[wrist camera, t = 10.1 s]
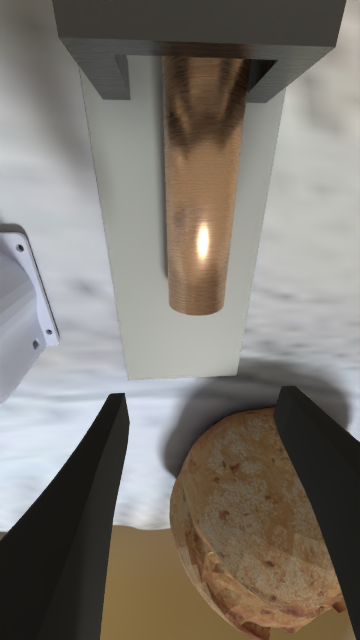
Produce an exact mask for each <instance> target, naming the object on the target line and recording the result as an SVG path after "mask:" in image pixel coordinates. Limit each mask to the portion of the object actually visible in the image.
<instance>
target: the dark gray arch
mask: <svg viewBox="0 0 360 640" xmlns="http://www.w3.org/2000/svg"><path fill="white" fill-rule="evenodd" d="M52 2H53V7H54V13H55V19H56V24H57V30H58V35H59V38H60V40H61V41H62V42H63V44H64V45H65V47H66V48H67V49H68V51H69V52H70V54H71V55H72V57H73V58H74V59H75V61H76V62H77V64H78V65H79V67H80V68H81V69H82V71H83V72H84V74H85V75H86V76H87V78H88V79H89V81H90V82H91V84H92V85H93V86H94V88H95V89H96V91H97V92H98V93H99V95H100V96H101V98H102V99H103V100H131V94H130V82H129V69H128V60H127V56H126V55H140V56H171V57H203V58H234V59H251V65H250V74H249V83H248V93H247V102H246V103H267V102H268V101H269V100H271V99H272V98H273V97H274V96H276V95H277V94H278V93H279V92H280V91H282V90H283V89H284V88H285V87H287V86H288V85H289V84H290V83H292V82H293V81H294V80H295V79H297V78H298V77H299V76H300V75H301V74H303V73H304V72H305V71H306V70H308V69H309V68H310V67H311V66H313V65H314V64H315V63H316V62H318V61H319V60H320V59H321V58H322V57H324V56H325V55H326V54H327V53H329V52H330V51H331V50H332V49H334V48H335V46H336V42H337V38H338V34H339V30H340V25H341V21H342V17H343V13H344V8H345V4H346V0H52Z"/></svg>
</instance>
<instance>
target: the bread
mask: <svg viewBox="0 0 360 640" xmlns="http://www.w3.org/2000/svg"><path fill="white" fill-rule="evenodd" d="M274 410H275V407H270V408H264V409H255V410H248V411H243V412H238V413H235V414H232V415H230V416H227V417H224V418H223V419H221V420H220V421H218V422H217V423H215V424H214V425H213V426H211V427H210V428H209V429H208V430H206V431H205V432H204V433H203V434H202V435H201V436H200V437H199V438H198V439H197V441H196V442H195V443H194V444H193V445H192V447H191V449H190V451H189V453H188V455H187V457H186V459H185V461H184V463H183V465H182V467H181V471H180V473H179V475H178V477H177V479H176V481H175V484H174V486H173V490H172V494H171V498H170V526H171V532H172V536H173V539H174V543H175V546H176V549H177V551H178V554H179V557H180V559H181V562H182V564H183V567H184V569H185V571H186V573H187V575H188V577H189V579H190V581H191V582H192V583H193V585H194V586H195V588H196V589H197V590H198V592H199V593H200V594H201V596H202V597H203V598H204V599H205V600H206V601H207V603H208V604H209V605H210V606H211V608H212V609H213V610H215V611H216V612H217V613H218V614H219V615H220V616H222V617H223V618H224V619H225V620H226V621H227V622H228V623H230V624H231V625H232V626H233V627H234V628H235V629H237V630H239V631H240V632H242V633H244V634H246V635H247V636H249V637H250V638H252V639H253V640H269V637H270V633H269V631H270V629H271V627H281V628H282V629H283V630H284V631H286V632H287V633H295V632H297V631H298V630H299V629H300V628H301V627H303V626H305V625H307V624H309V623H310V622H311V621H312V620H313V619H314V618H316V617H318V616H319V615H321V614H322V613H324V612H326V611H327V610H329V609H331V608H332V607H333V608H334V609H336V610H337V611H338V612H339V613H340V612H343V611H345V612H348V611H347V607H346V604H345V601H344V598H343V594H342V591H341V588H340V585H339V582H338V579H337V576H336V573H335V570H334V567H333V564H332V561H331V558H330V555H329V553H328V550H327V547H326V544H325V541H324V538H323V536H322V533H321V530H320V527H319V525H318V522H317V519H316V517H315V514H314V511H313V509H312V506H311V504H310V501H309V499H308V497H307V494H306V492H305V490H304V488H303V486H302V484H301V481H300V479H299V477H298V475H297V473H296V471H295V469H294V467H293V464H292V462H291V460H290V458H289V456H288V454H287V452H286V449H285V447H284V445H283V443H282V441H281V439H280V436H279V433H278V430H277V427H276V424H275V421H274V418H273V413H274ZM343 429H344V428H343ZM344 430H345V429H344ZM347 432H348V431H347ZM348 433H349V432H348ZM349 434H350V433H349ZM350 435H351V434H350Z"/></svg>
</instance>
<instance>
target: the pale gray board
mask: <svg viewBox="0 0 360 640" xmlns="http://www.w3.org/2000/svg"><path fill="white" fill-rule="evenodd" d="M126 56H127V60H128V69H129V82H130V94H131V100H103V99H102V98H101V96H100V95H99V93H98V92H97V91H96V89H95V88H94V86H93V85H92V84H91V82H90V81H89V79H88V78H87V76H86V75H85V74H84V72H83V71H82V69H81V68H80V67H79V71H80V77H81V83H82V90H83V96H84V103H85V109H86V115H87V122H88V128H89V134H90V141H91V147H92V153H93V160H94V166H95V172H96V179H97V185H98V192H99V198H100V204H101V211H102V217H103V223H104V230H105V236H106V242H107V249H108V255H109V262H110V268H111V274H112V281H113V287H114V293H115V300H116V306H117V312H118V319H119V325H120V331H121V338H122V344H123V351H124V357H125V363H126V370H127V376H128V380H144V379H167V378H190V377H213V376H235V375H237V370H238V364H239V358H240V352H241V346H242V340H243V335H244V329H245V323H246V317H247V311H248V306H249V300H250V294H251V288H252V282H253V277H254V271H255V265H256V259H257V253H258V248H259V242H260V236H261V230H262V224H263V219H264V213H265V207H266V201H267V195H268V190H269V184H270V178H271V172H272V166H273V161H274V155H275V149H276V143H277V137H278V132H279V126H280V120H281V114H282V108H283V103H284V97H285V91H286V87H285V88H284V89H283V90H282V91H280V92H279V93H278V94H277V95H276V96H274V97H273V98H272V99H271V100H269V101H268V102H267V103H246V111H245V120H244V129H243V138H242V147H241V156H240V165H239V174H238V183H237V192H236V201H235V210H234V219H233V228H232V237H231V246H230V255H229V264H228V273H227V282H226V291H225V300H224V306H223V308H222V309H221V310H220V311H218V312H216V313H214V314H210V315H203V316H193V315H186V314H182V313H179V312H177V311H175V310H173V309H172V308H171V307H170V306H169V295H168V257H167V220H166V182H165V144H164V107H163V69H162V56H140V55H126Z"/></svg>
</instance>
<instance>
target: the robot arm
mask: <svg viewBox="0 0 360 640" xmlns="http://www.w3.org/2000/svg"><path fill="white" fill-rule="evenodd" d="M19 244H20V245H22V246H23V248H24V251H23V250H21V249H20V248H19ZM48 330H51V331H52V332H50V331H48ZM59 342H60V338H59V335H58V332H57V329H56V326H55V323H54V320H53V317H52V314H51V311H50V308H49V305H48V302H47V299H46V295H45V292H44V289H43V286H42V283H41V280H40V277H39V274H38V271H37V268H36V265H35V262H34V259H33V256H32V253H31V249H30V246H29V243H28V240H27V238H26V236H25V235H24V234H22V233H19V232H0V405H2V404H3V403H4V402H5V401H6V400H7V399H8V398H9V397H10V396H11V395H12V393H13V392H14V391H15V389H16V388H17V387H18V385H19V384H20V382H21V381H22V380H23V378H24V377H25V376H26V374H27V373H28V371H29V370H30V369H31V367H32V366H33V365H34V363H35V362H36V361H37V359H38V358H39V356H40V355H41V354H42V352H43V351H44V350H45V348H46V347H47V346H56V345H58V343H59ZM273 418H274V421H275V424H276V427H277V430H278V433H279V436H280V439H281V441H282V443H283V445H284V447H285V449H286V452H287V454H288V456H289V458H290V460H291V462H292V464H293V467H294V469H295V471H296V473H297V475H298V477H299V479H300V481H301V484H302V486H303V488H304V490H305V492H306V494H307V497H308V499H309V501H310V504H311V506H312V509H313V511H314V514H315V517H316V519H317V522H318V525H319V527H320V530H321V533H322V536H323V538H324V541H325V544H326V547H327V550H328V553H329V555H330V558H331V561H332V564H333V567H334V570H335V573H336V576H337V579H338V582H339V585H340V588H341V591H342V594H343V598H344V601H345V604H346V607H347V611H348V614H349V617H350V620H351V624H352V627H353V630H354V634H355V637H356V640H360V442H359V441H358V440H356V439H355V438H354V437H353V436H352V435H350V434H349V433H348V432H347V431H346V430H344V429H343V428H342V427H341V426H340V425H338V424H337V423H336V422H335V421H334V420H333V419H331V418H330V417H329V416H328V415H327V414H326V413H325V412H324V411H322V410H321V409H320V408H319V407H318V406H317V405H316V404H315V403H313V402H312V401H311V400H310V399H309V398H308V397H307V396H306V395H305V394H303V393H302V392H301V391H300V390H299V389H298V388H297V387H295V386H283V387H282V388H281V391H280V394H279V397H278V400H277V404H276V407H275V410H274V413H273ZM129 424H130V421H129V415H128V410H127V404H126V398H125V393H113V394H110V395H109V396H108V398H107V400H106V401H105V403H104V405H103V407H102V409H101V410H100V412H99V414H98V415H97V417H96V419H95V420H94V422H93V423H92V425H91V427H90V428H89V430H88V431H87V433H86V434H85V436H84V437H83V439H82V440H81V442H80V443H79V445H78V446H77V448H76V449H75V450H74V452H73V453H72V455H71V456H70V457H69V459H68V460H67V462H66V463H65V464H64V466H63V467H62V468H61V470H60V471H59V472H58V474H57V475H56V476H55V478H54V479H53V480H52V481H51V483H50V484H49V485H48V486H47V488H46V489H45V490H44V491H43V492H42V494H41V495H40V496H39V497H38V498H37V500H36V501H35V502H34V503H33V504H32V505H31V507H30V508H29V509H28V510H27V511H26V512H25V514H24V515H23V516H22V517H21V518H20V519H19V520H18V522H17V523H16V524H15V525H14V526H13V527H12V528H11V529H10V530H9V532H8V533H7V534H6V535H5V536H4V537H3V538H2V539H1V540H0V640H100V632H101V622H102V612H103V603H104V593H105V583H106V574H107V565H108V557H109V548H110V540H111V532H112V524H113V517H114V511H115V505H116V500H117V495H118V490H119V485H120V480H121V475H122V470H123V465H124V460H125V455H126V450H127V444H128V435H129Z"/></svg>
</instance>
